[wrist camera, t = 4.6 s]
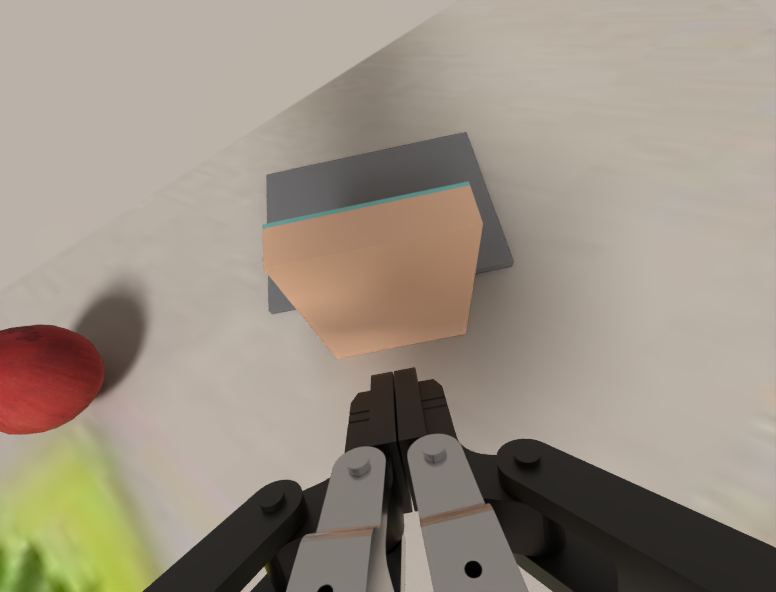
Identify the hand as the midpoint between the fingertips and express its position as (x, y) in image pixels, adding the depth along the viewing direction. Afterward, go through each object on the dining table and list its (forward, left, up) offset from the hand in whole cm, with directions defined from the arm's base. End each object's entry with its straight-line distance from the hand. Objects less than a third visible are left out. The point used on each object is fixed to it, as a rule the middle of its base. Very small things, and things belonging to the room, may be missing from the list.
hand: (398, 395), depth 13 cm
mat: (0, +15, -9) cm, 18 cm away
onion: (-20, +6, -9) cm, 23 cm away
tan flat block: (0, +6, -9) cm, 11 cm away
